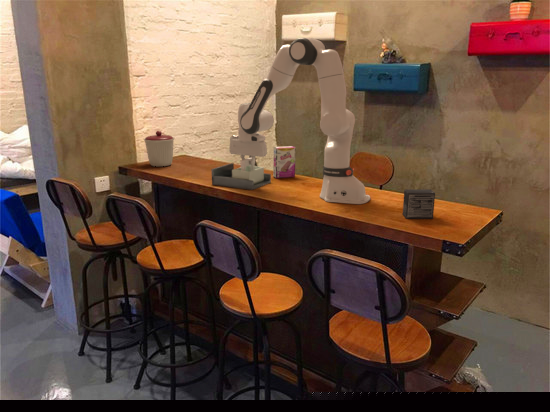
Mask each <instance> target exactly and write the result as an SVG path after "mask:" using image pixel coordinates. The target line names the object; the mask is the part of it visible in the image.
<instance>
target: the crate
mask: <svg viewBox="0 0 550 412" xmlns="http://www.w3.org/2000/svg"><path fill="white" fill-rule="evenodd" d="M251 159H252V158H249V157H247V158H245V159H244V160H242V159H241V160H240V167H238V168H234V170H232V178H237V179H245V180H253V181H254V184H256V183H259V182H261V181H264V173H265V167H264V166H259V165H258V166H255V159H254V161H253V165H250V164H249V161H251ZM249 165H250V166H249Z"/></svg>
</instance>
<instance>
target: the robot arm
mask: <svg viewBox="0 0 550 412" xmlns="http://www.w3.org/2000/svg"><path fill="white" fill-rule="evenodd" d="M300 65H301V66H302V65H303V66H313V67H314V68H315V70H316V73H317V74H316V75H317V79H318V80H317V82H318V85H319V94H320V100H321V101H320V121H319V128H320V131H321V132H322V133H323V135H325V136H327V140H326V144H325V145H324V146H325V147H324V161H323V162H324V163H323V164H324V165H323V166H322V167H323V168H322V178H323V179H322V186H321V189H320V190H321V191H320V193H319V198H320V199H322V200H324V201H325V202H328V203H339V204H340V203H341V204H349V205H350V204H351V205H362V204H366V203H368V202H370V200H371V196H370V195H369V194H367V193H366V187H365V185H364V183H363V182H362V181H360V180H359V179H358V178H357V177H355V176H354V171H355V168H354V167H353V168H352V167H351V166H350V155H351V144H352V139H353V136H354V135H353V134H354V126H355V123H356V117H355V114H354V113H353V112H352V111H351V110H349V109H347V107H346V106H347V95H348V93H347V86H346V79H345V73H344V68H343V64H342V60H341V57H340V55H339V52H338V51H337V50H335V49H331V48H328V46H327V44H326V43H325V42H324V41H323V40H320V38H319V39H317V38H313V37H299V38H296V39H294V40H293V41H292V42H291V43H290V44H283V45H282V46H281V47H280V48H279V49H278V51H277V53H276V55H275V57H274V58H273V61H272V63H271V66H270V68H269V70H268V72H267V74H266V75H265V77H264V78H263V80H262V81H261V83H260V85H259V86H258V88H257V90H256V92H255V94H254V96H253V98H252V100H251V101H250V102H244V103H242V104H240V105H239V107H238V110H237V122H238V130H237V131H238V135H232V136H231V135H230V138H229V149H228V151H229V153H230V154H231V155H239V157H240V159H241V160H244V159H246V158H245V157H246V156H251V158H252V159H251V161H249V164H250V165H253V161H254V159H255V158H256V157H258V158H259V157H260V158H261V157H262V158H264V157H266V156H267V154H268V148H267V143H266V135H263V134H261V133H260V132H264V131H267V130H270V129H272V127H273V125H274V120H275V119H274V116H273V114H272V112H271V111H269V110H267V109H266V110H265V109H264V108H265V106H266V105H267V102H268V101H269V100H270V98H271V97H273V96H274V95H276V94H277V93H280V92H281V91H283V90H286V89H287V88H288V87H289V86H290V84H291V83H292V80H293V79H294V76H295V74H296V71H297V68H298V67H299V66H300Z"/></svg>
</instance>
